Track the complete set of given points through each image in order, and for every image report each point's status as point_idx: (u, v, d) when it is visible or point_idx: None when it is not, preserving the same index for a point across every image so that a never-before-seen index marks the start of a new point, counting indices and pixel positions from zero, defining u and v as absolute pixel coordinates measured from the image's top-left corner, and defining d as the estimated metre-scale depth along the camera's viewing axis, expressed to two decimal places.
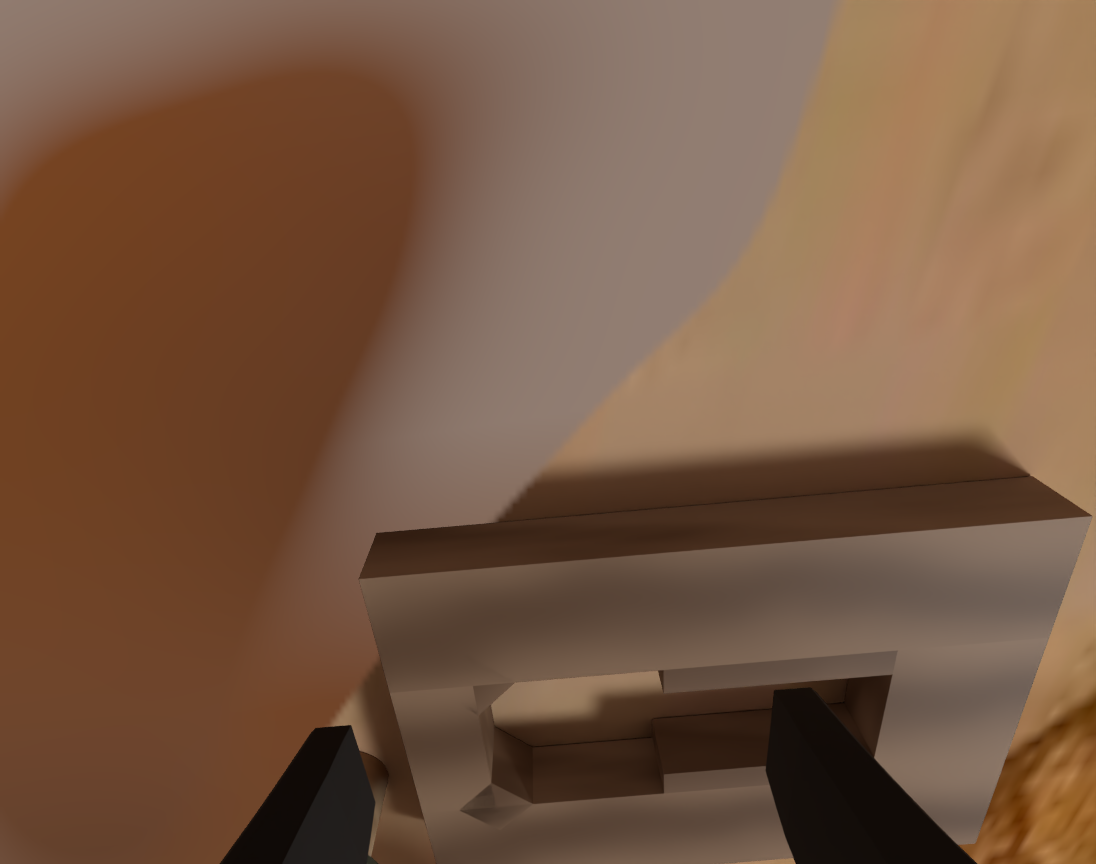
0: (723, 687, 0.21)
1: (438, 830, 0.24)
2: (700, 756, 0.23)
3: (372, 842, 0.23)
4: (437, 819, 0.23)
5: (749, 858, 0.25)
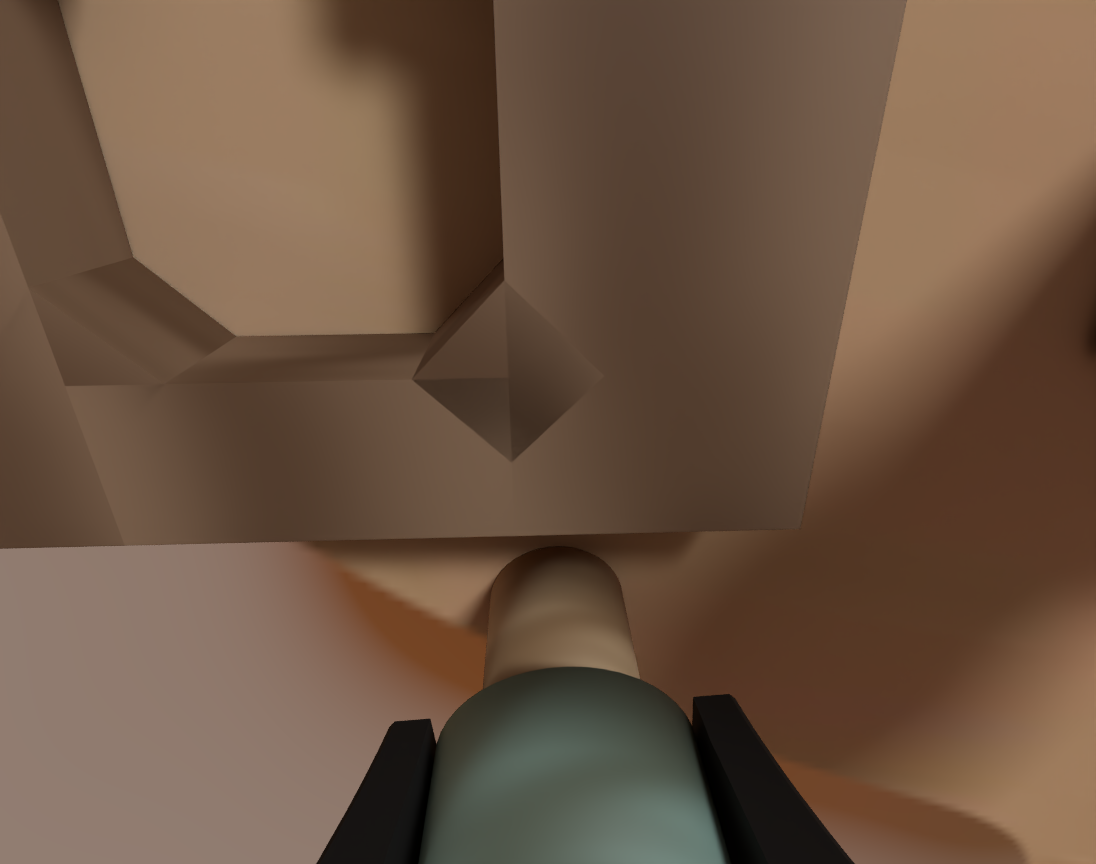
0: None
1: (580, 513, 0.10)
2: None
3: (567, 643, 0.11)
4: (540, 510, 0.10)
5: None
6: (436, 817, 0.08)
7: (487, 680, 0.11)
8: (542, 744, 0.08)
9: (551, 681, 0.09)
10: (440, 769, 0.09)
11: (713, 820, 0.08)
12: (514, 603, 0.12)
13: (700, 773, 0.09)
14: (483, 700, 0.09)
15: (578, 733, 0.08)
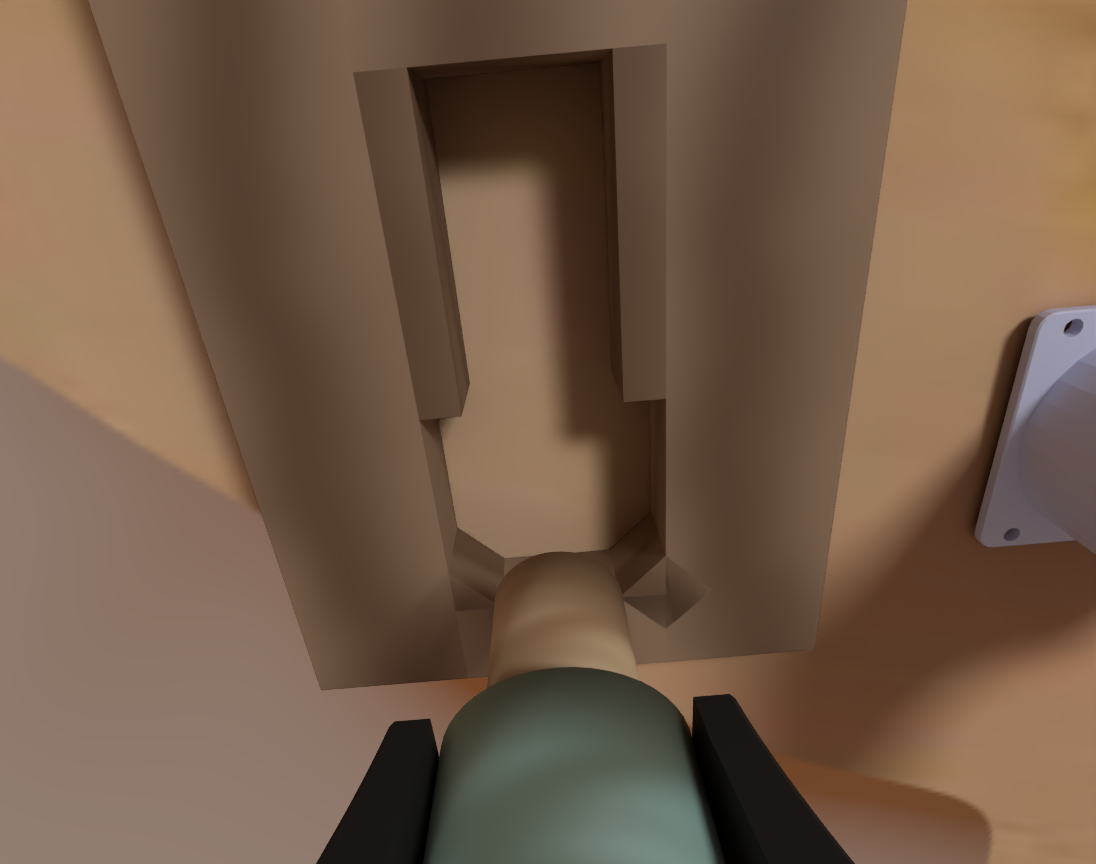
0: (447, 340, 0.15)
1: (699, 649, 0.19)
2: (618, 339, 0.16)
3: (562, 645, 0.11)
4: (679, 649, 0.19)
5: (863, 241, 0.14)
6: (437, 817, 0.09)
7: (489, 685, 0.12)
8: (530, 743, 0.09)
9: (541, 682, 0.09)
10: (441, 771, 0.09)
11: (700, 808, 0.09)
12: (513, 609, 0.12)
13: (689, 763, 0.09)
14: (478, 704, 0.10)
15: (565, 730, 0.09)
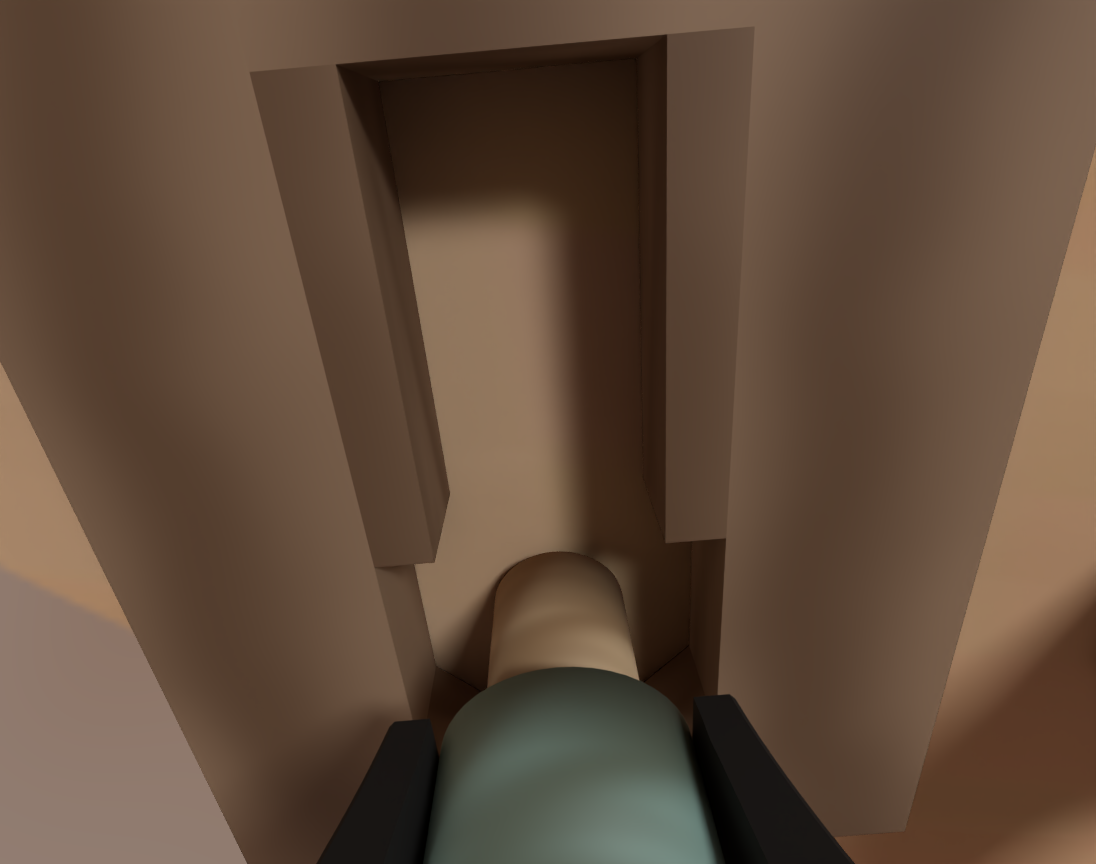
0: (411, 464, 0.10)
1: None
2: (658, 454, 0.11)
3: (562, 645, 0.11)
4: None
5: (1031, 327, 0.09)
6: (437, 815, 0.09)
7: (489, 684, 0.12)
8: (530, 743, 0.09)
9: (541, 682, 0.09)
10: (441, 771, 0.09)
11: (700, 807, 0.09)
12: (513, 609, 0.12)
13: (689, 763, 0.09)
14: (479, 703, 0.10)
15: (565, 730, 0.09)
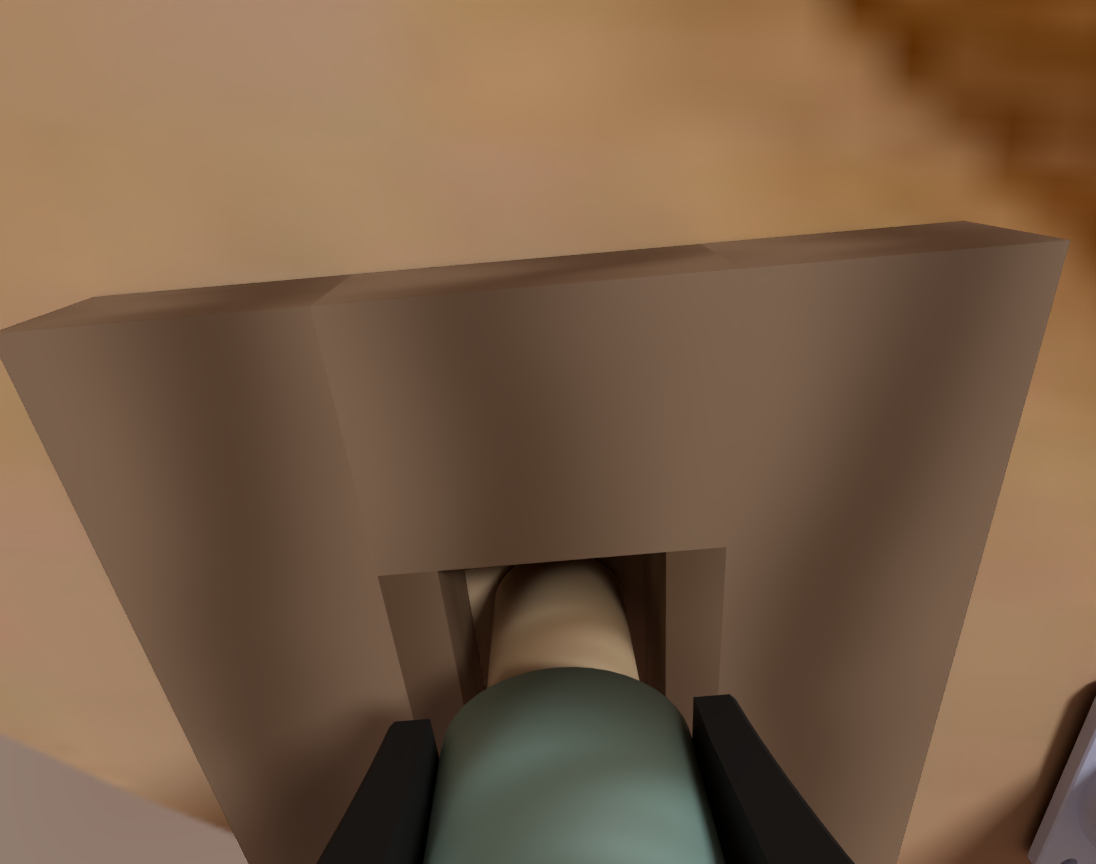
0: None
1: None
2: None
3: (562, 645, 0.11)
4: None
5: (933, 694, 0.13)
6: (437, 816, 0.09)
7: (489, 684, 0.12)
8: (530, 743, 0.09)
9: (541, 682, 0.09)
10: (441, 771, 0.09)
11: (700, 808, 0.09)
12: (513, 609, 0.12)
13: (689, 763, 0.09)
14: (478, 704, 0.10)
15: (565, 730, 0.09)
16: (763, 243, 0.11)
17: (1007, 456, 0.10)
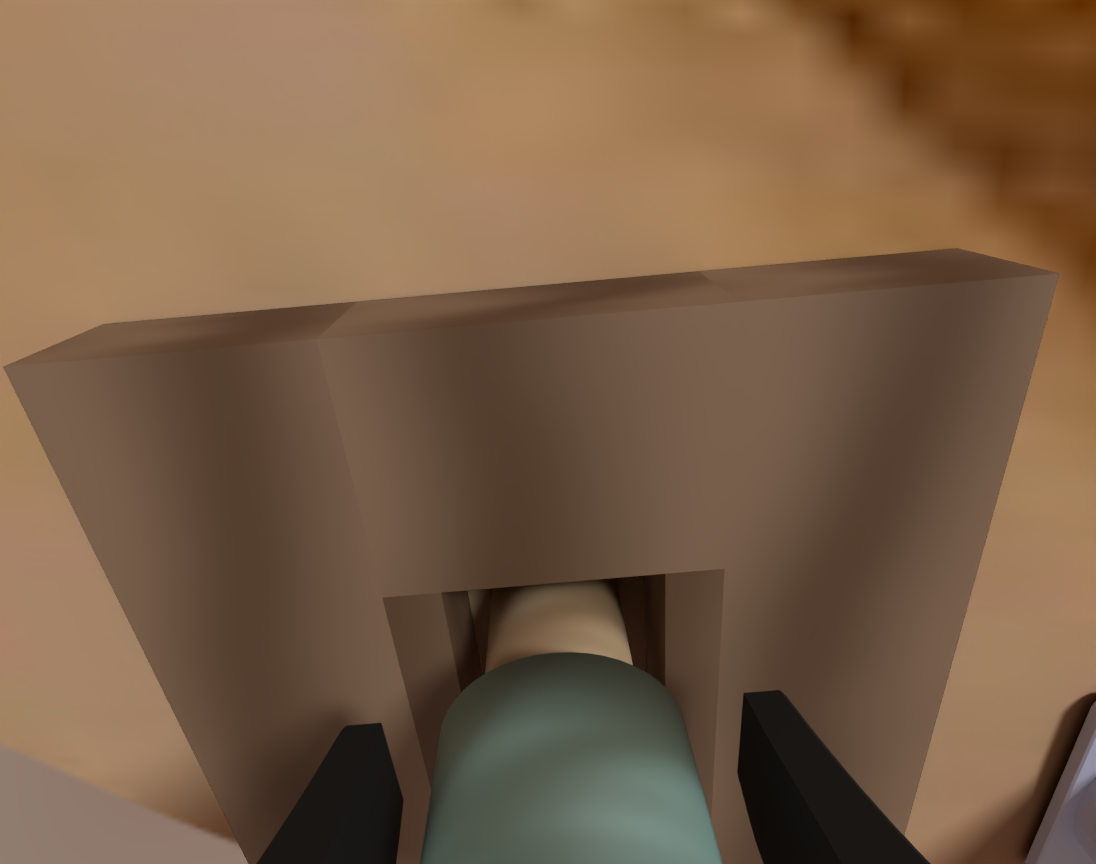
0: None
1: None
2: None
3: (558, 633, 0.11)
4: None
5: (928, 710, 0.13)
6: (437, 795, 0.09)
7: (487, 672, 0.12)
8: (527, 724, 0.09)
9: (537, 667, 0.10)
10: (441, 754, 0.10)
11: (692, 786, 0.09)
12: (510, 599, 0.13)
13: (681, 744, 0.09)
14: (477, 688, 0.10)
15: (561, 712, 0.09)
16: (760, 271, 0.11)
17: (999, 480, 0.11)
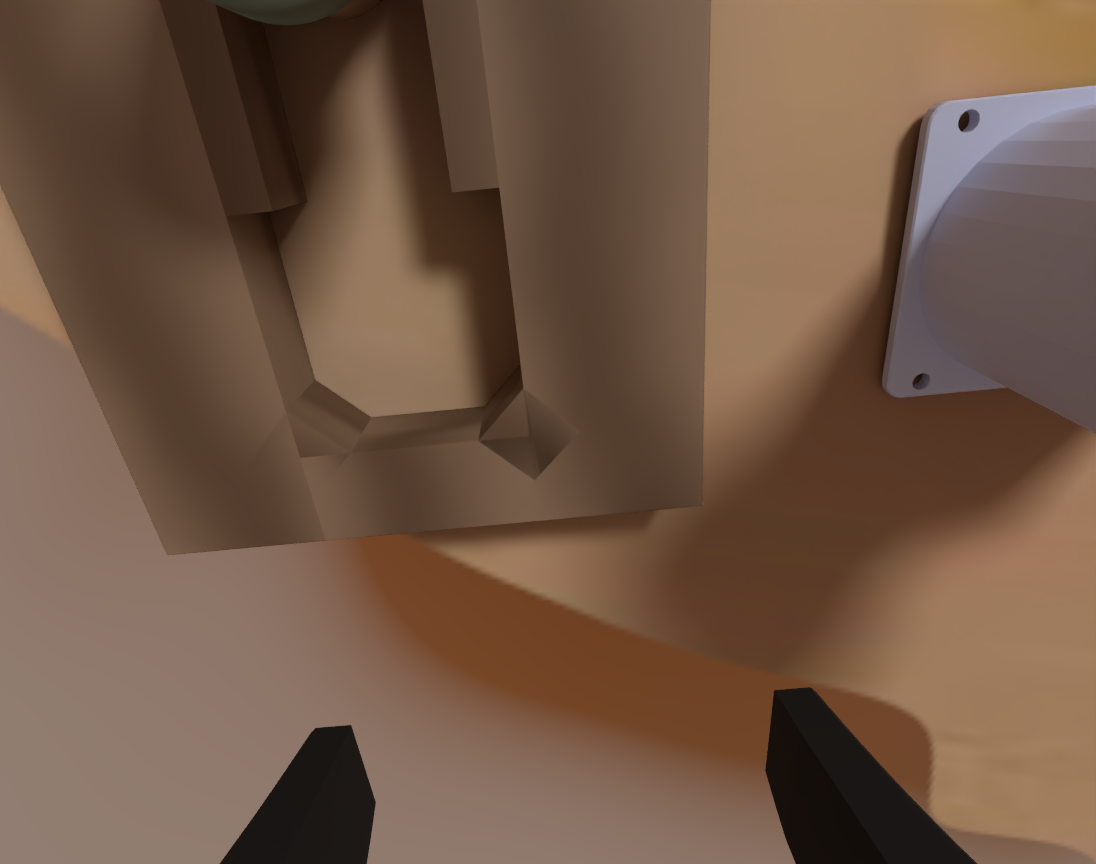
0: (242, 112, 0.13)
1: (575, 505, 0.18)
2: None
3: None
4: (552, 505, 0.18)
5: None
6: None
7: None
8: None
9: None
10: None
11: None
12: None
13: None
14: None
15: None
16: None
17: None
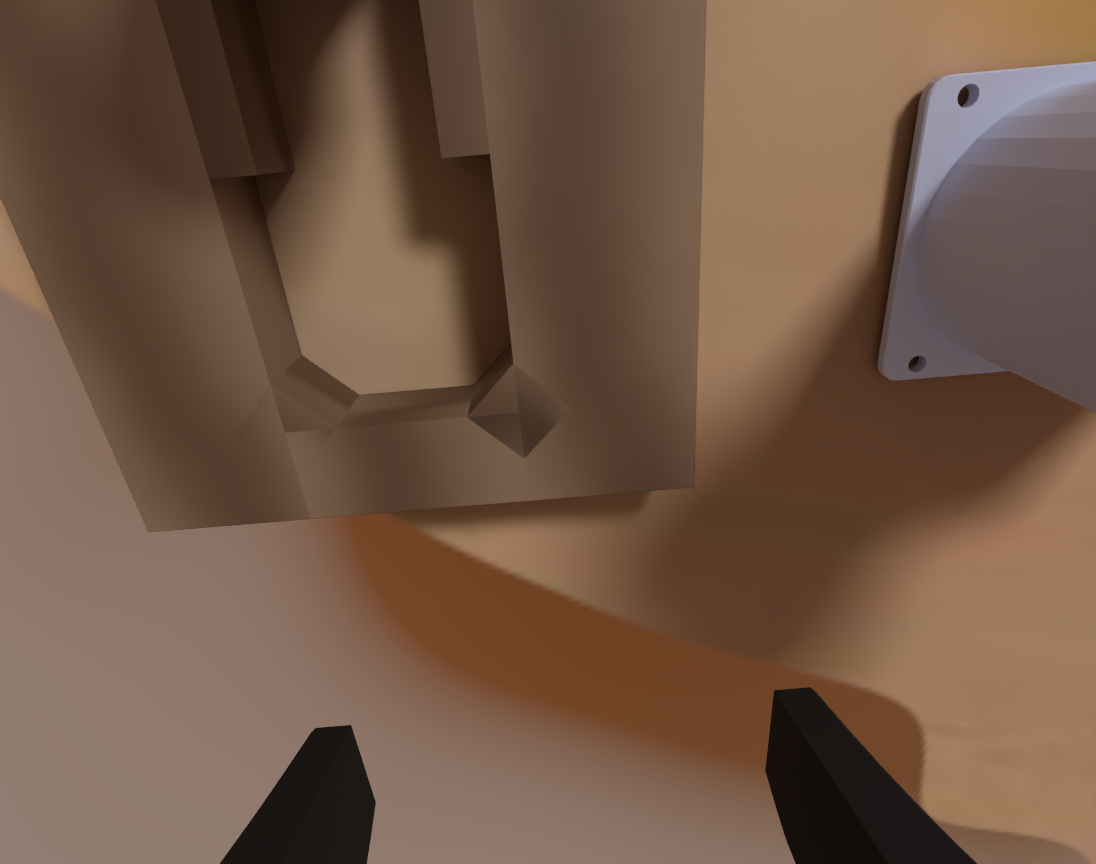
0: (226, 71, 0.13)
1: (565, 485, 0.17)
2: None
3: None
4: (542, 484, 0.17)
5: None
6: None
7: None
8: None
9: None
10: None
11: None
12: None
13: None
14: None
15: None
16: None
17: None
